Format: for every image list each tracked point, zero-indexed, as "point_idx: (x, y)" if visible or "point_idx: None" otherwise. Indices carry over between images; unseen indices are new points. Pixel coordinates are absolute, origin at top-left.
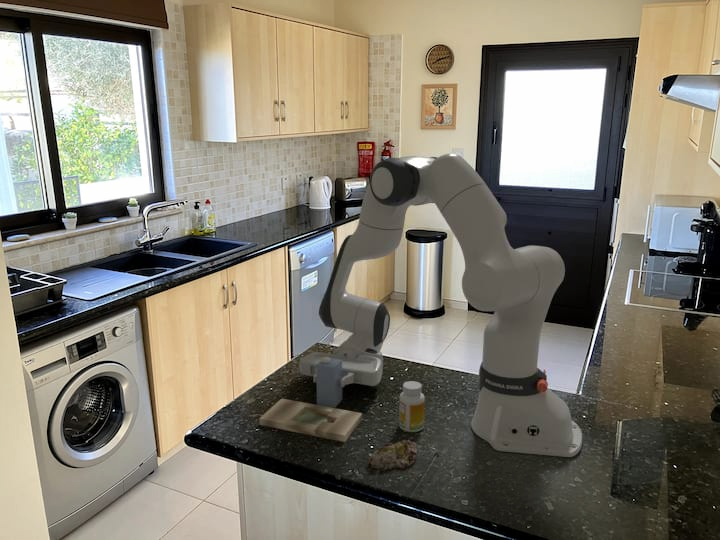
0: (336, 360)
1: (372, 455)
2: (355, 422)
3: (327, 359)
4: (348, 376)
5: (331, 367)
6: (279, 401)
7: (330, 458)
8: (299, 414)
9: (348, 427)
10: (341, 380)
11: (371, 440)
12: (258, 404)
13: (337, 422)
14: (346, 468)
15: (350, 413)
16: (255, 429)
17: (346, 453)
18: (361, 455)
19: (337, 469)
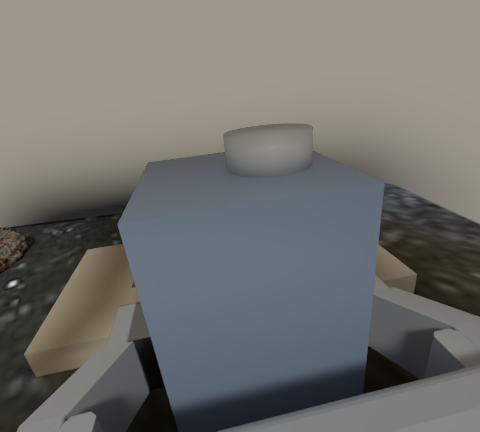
0: (188, 199)
1: (11, 234)
2: (58, 301)
3: (242, 131)
4: (76, 372)
5: (172, 161)
6: (394, 261)
7: (115, 231)
8: None
9: (81, 272)
10: (133, 303)
11: (9, 299)
12: (463, 263)
13: (124, 272)
14: (77, 229)
15: (84, 328)
16: None
17: (83, 248)
18: (45, 256)
19: (94, 224)
